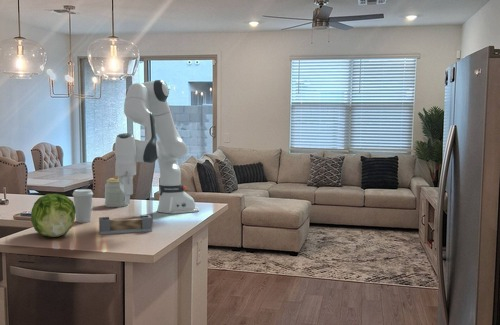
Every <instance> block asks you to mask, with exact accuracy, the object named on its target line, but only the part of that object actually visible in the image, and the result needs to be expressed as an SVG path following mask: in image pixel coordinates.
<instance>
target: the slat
mask: <svg viewBox="0 0 500 325" xmlns="http://www.w3.org/2000/svg"><path fill="white" fill-rule="evenodd" d="M126 229H142V218H140V217H139V218H123V219H110V230H126Z"/></svg>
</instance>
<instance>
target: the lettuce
mask: <svg viewBox="0 0 500 325" xmlns="http://www.w3.org/2000/svg"><path fill="white" fill-rule="evenodd" d="M30 215H31V216H30V222H31V223H32V226H33V228H34V230H35V231H36V232H37V233H38V234H40V235H41V236H43V237H48V238H57V237H58V238H59V237H61V236H63V235H66V234H67V233H68V232H69V231H70V230H71V229H72V226H73V224H74V222H75V221H76V214H75V205H74V200H73V199H71V198H69V197H68V196H67V195H65V194H59V193H46V194H45V195H42V196H40V197H38V199H37V200H36V201H35V202H34V203H33V206H32V208H31V214H30Z"/></svg>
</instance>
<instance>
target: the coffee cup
mask: <svg viewBox="0 0 500 325" xmlns="http://www.w3.org/2000/svg"><path fill="white" fill-rule="evenodd" d="M93 195H94V192H93V191H92V189H89V188H86V189H85V188H81V189H75V190H73V192H72V196H73V203H74V206H75V222H76V223H78V224H79V223H83V224H84V223H85V224H86V223H89V222H91V220H92V219H91V218H92V204H93Z"/></svg>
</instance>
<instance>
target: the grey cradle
mask: <svg viewBox="0 0 500 325" xmlns="http://www.w3.org/2000/svg"><path fill="white" fill-rule="evenodd" d="M139 216H140V217H139V218H142V229H126V230H110V220H111V219H110V217H109V216H102V217H99V218H98V227H99V228H98V230H99V232H98V233H99V234H100V235H109V234H110V235H111V234H124V233H125V234H126V233H127V234H128V233H142V232H144V233H146V232H152V231H153V226H152V224H153V222H152V220H153V219H152V216H151V215H150V214H141V215H139Z"/></svg>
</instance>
